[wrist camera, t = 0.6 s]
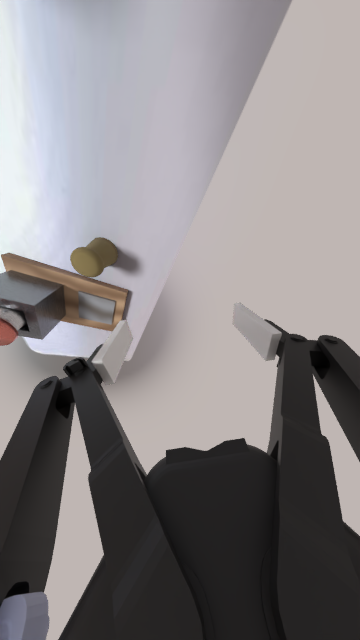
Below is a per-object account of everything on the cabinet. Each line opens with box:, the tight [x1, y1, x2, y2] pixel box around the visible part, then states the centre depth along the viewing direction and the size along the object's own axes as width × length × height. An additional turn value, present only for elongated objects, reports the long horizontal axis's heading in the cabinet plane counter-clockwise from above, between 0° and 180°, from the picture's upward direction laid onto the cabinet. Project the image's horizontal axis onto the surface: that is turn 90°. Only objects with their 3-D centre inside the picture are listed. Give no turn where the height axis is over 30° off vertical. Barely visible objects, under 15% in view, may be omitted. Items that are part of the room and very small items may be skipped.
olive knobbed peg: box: [70, 237, 118, 277], centre depth 28 cm, size 6×6×11 cm
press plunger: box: [0, 306, 27, 346], centre depth 27 cm, size 7×7×9 cm
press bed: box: [1, 253, 128, 331], centre depth 37 cm, size 16×26×3 cm, turn 66°
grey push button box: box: [0, 270, 66, 339], centre depth 31 cm, size 10×10×10 cm
